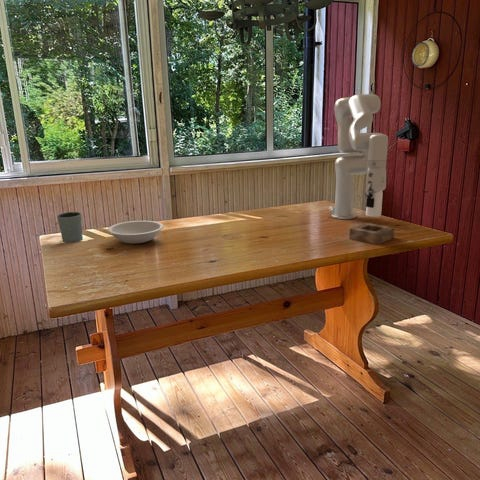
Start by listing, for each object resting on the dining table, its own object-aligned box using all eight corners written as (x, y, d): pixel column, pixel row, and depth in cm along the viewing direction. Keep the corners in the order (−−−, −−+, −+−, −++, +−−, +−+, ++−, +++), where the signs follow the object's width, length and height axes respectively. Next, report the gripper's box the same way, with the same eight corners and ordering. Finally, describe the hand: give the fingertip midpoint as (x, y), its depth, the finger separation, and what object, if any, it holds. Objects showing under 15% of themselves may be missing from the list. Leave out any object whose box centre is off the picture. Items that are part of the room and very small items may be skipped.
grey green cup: (85, 236, 208) (82, 211, 205) (83, 242, 199) (79, 216, 195) (62, 238, 206) (59, 212, 203) (58, 244, 197) (55, 217, 193)
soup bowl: (142, 252, 184) (141, 237, 182) (97, 246, 194) (95, 231, 192) (174, 237, 205) (173, 223, 203) (132, 232, 215) (131, 218, 213)
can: (379, 214, 199) (381, 187, 195) (382, 217, 193) (384, 190, 189) (364, 214, 199) (366, 187, 196) (366, 217, 193) (368, 190, 190)
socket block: (349, 238, 199) (349, 228, 197) (364, 231, 208) (365, 222, 207) (378, 244, 189) (379, 234, 188) (393, 237, 199) (394, 227, 198)
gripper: (375, 167, 181) (372, 210, 186) (394, 162, 193) (391, 203, 198) (358, 165, 186) (356, 208, 191) (378, 161, 198) (375, 201, 203)
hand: (373, 205), depth 195 cm, fingers closed on can, 6 cm apart
